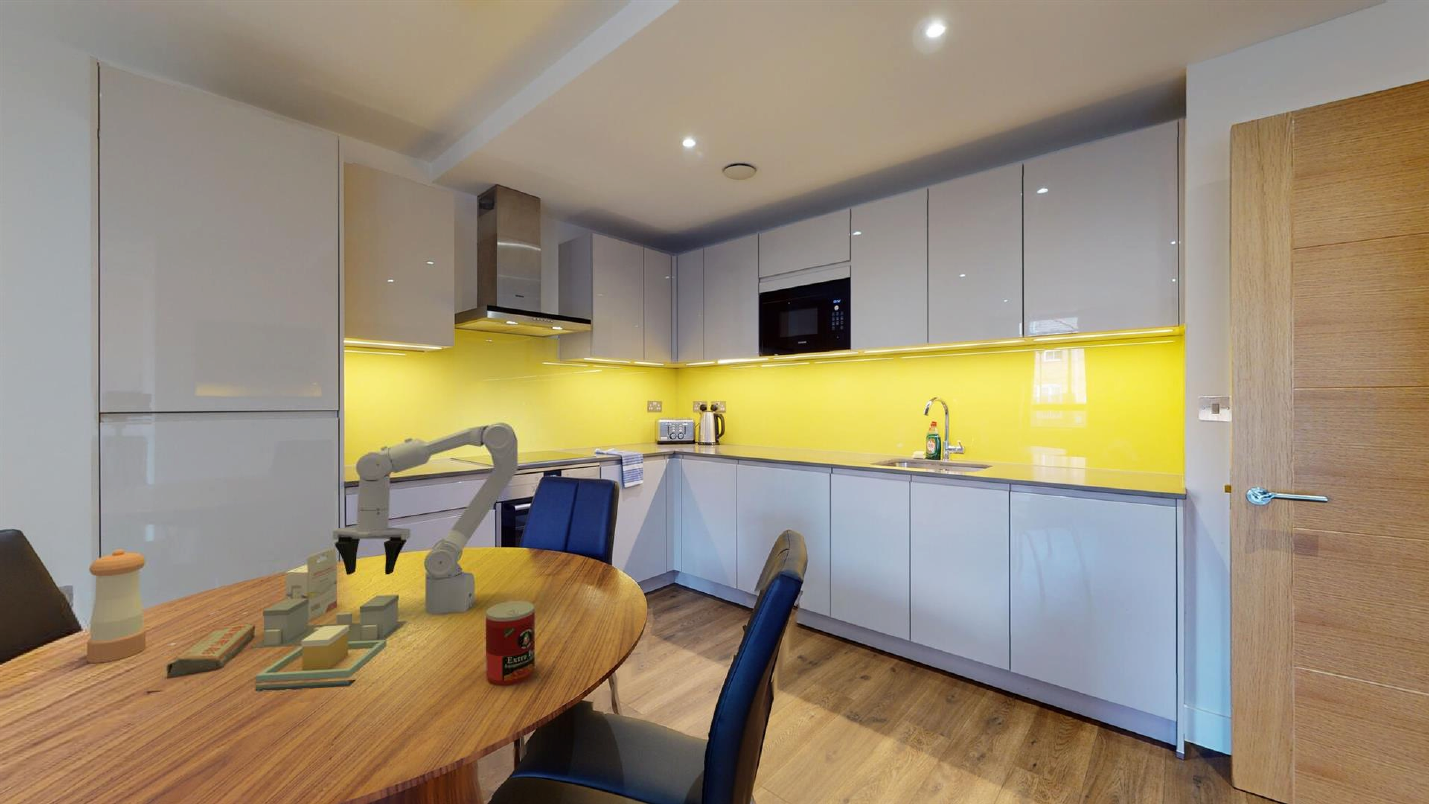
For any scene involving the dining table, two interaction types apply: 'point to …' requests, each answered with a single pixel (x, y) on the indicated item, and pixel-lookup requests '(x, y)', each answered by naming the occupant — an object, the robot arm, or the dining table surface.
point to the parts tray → (273, 675)
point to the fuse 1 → (287, 618)
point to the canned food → (510, 642)
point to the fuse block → (354, 634)
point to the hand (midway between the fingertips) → (370, 573)
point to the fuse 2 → (380, 613)
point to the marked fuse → (324, 648)
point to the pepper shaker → (116, 608)
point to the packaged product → (211, 650)
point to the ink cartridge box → (315, 583)
